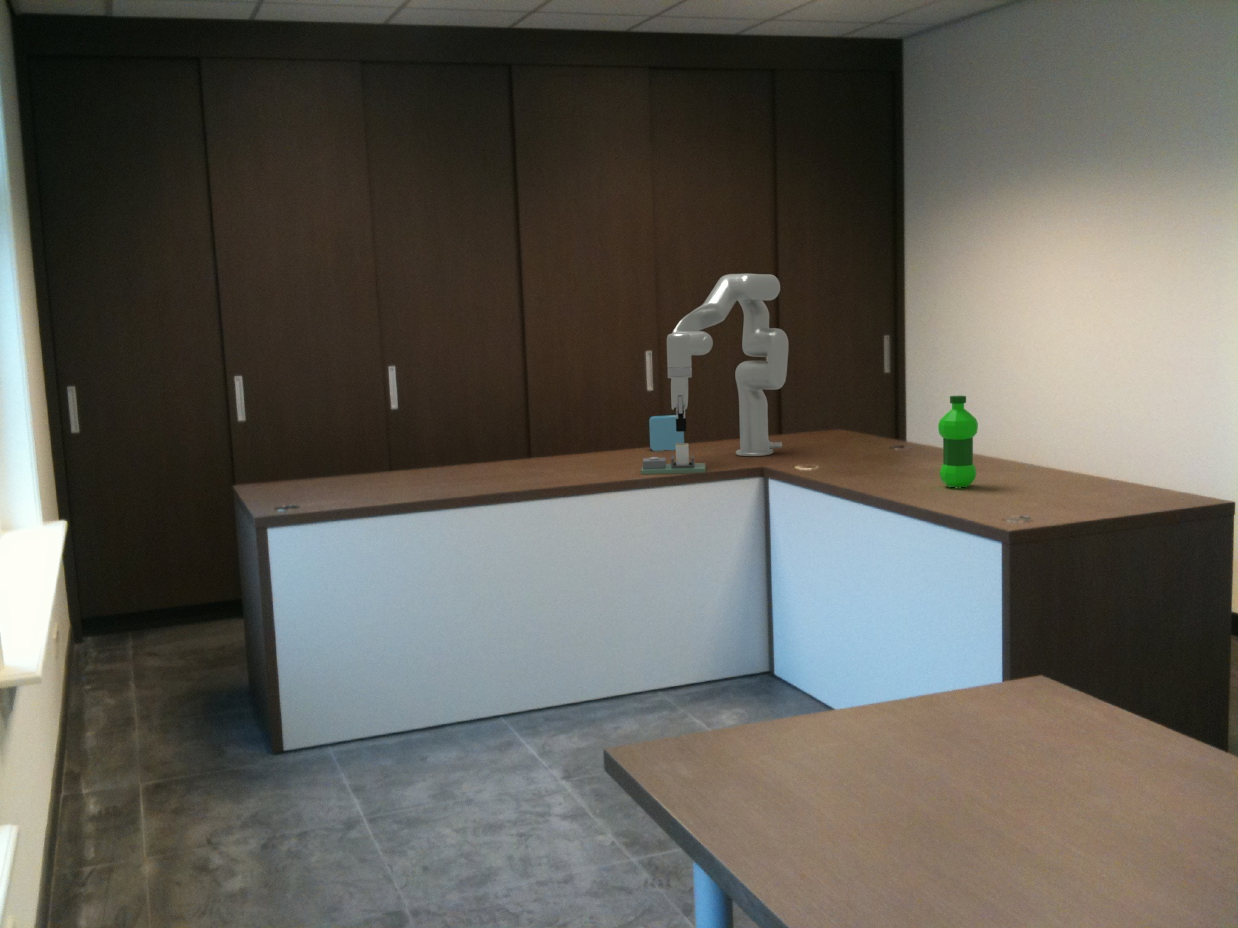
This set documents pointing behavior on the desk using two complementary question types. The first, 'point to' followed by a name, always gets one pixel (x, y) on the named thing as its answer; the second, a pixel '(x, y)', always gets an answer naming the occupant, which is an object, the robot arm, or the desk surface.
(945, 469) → the plastic bottle
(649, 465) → the board
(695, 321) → the robot arm
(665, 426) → the blue rounded square block
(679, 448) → the plug
